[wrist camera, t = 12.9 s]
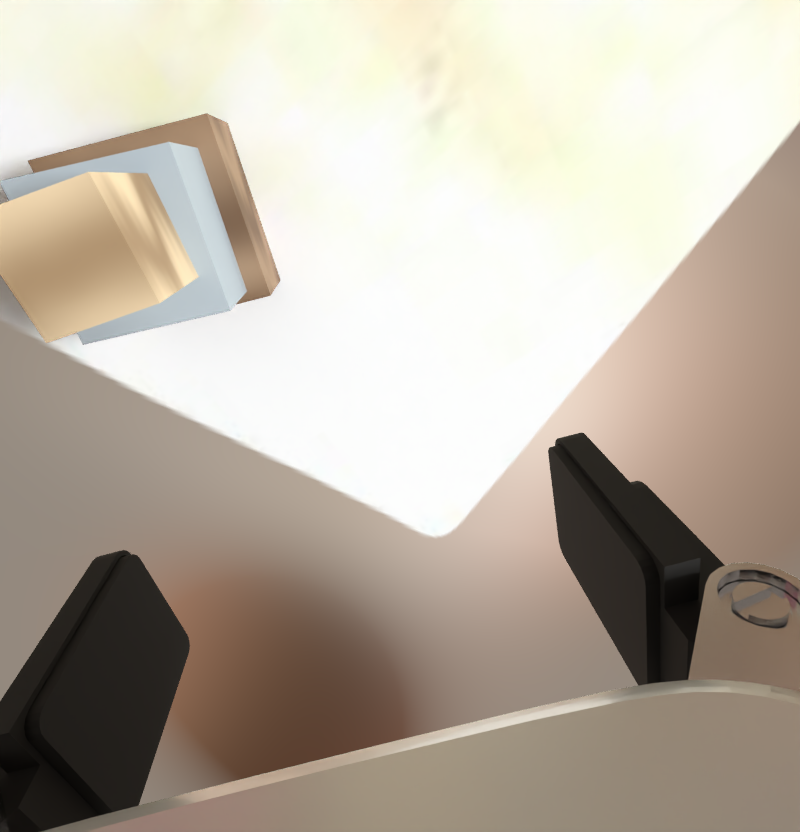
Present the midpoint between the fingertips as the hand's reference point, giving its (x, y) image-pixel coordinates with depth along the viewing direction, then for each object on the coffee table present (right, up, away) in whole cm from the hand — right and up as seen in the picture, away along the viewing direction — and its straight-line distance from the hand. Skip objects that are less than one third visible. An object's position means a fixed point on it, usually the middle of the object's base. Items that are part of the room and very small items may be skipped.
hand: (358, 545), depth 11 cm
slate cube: (-13, +13, +18) cm, 26 cm away
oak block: (-13, +11, +13) cm, 21 cm away
